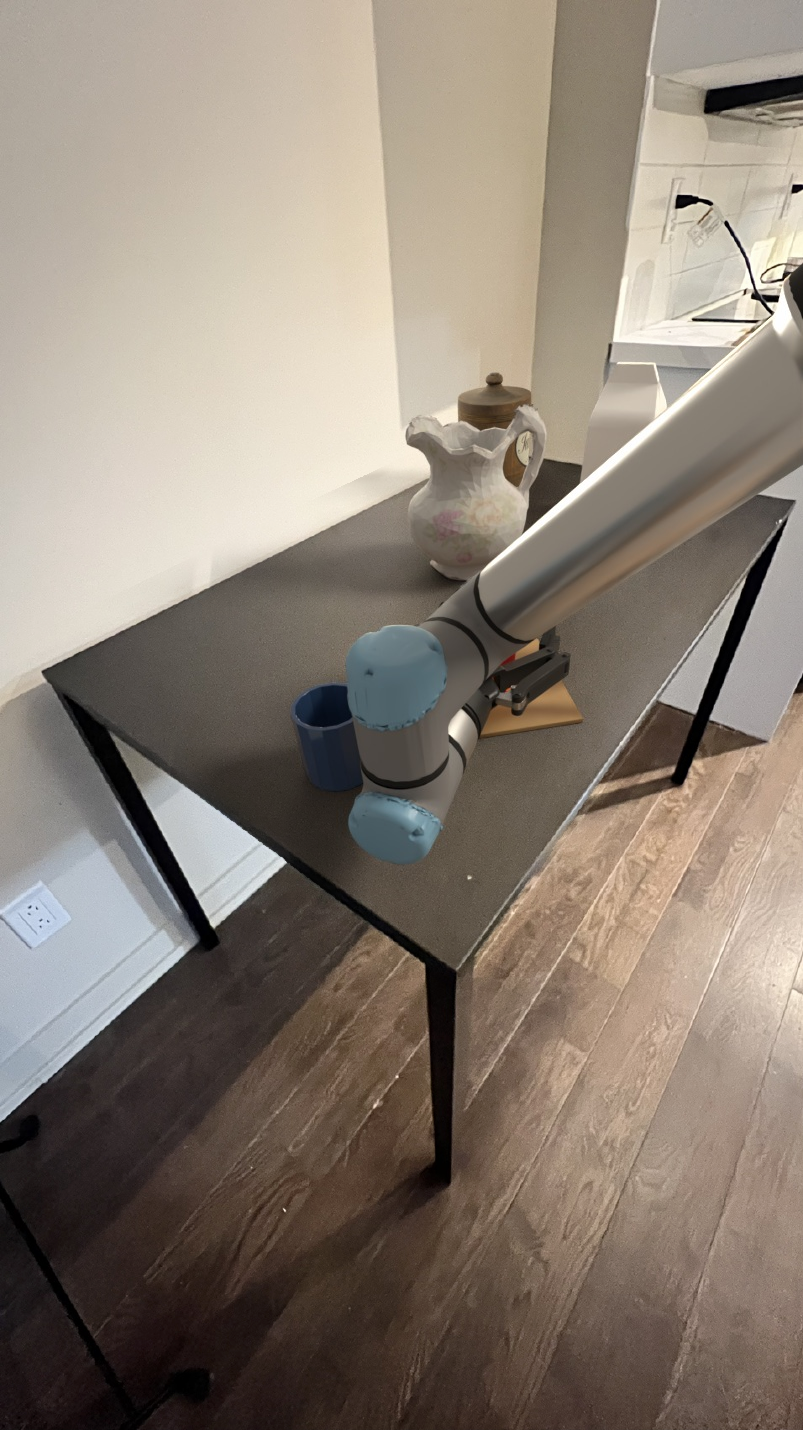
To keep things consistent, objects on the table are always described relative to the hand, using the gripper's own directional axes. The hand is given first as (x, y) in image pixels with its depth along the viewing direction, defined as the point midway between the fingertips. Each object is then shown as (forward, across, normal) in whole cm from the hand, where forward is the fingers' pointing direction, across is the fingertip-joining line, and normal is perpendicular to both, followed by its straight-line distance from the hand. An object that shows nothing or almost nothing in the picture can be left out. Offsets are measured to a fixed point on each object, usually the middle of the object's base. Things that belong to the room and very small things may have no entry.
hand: (497, 617), depth 77 cm
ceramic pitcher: (+30, -12, -9) cm, 34 cm away
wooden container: (+67, -18, -9) cm, 70 cm away
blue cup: (-22, -13, -9) cm, 27 cm away
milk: (+53, +9, -9) cm, 55 cm away
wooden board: (-3, 0, -9) cm, 9 cm away
